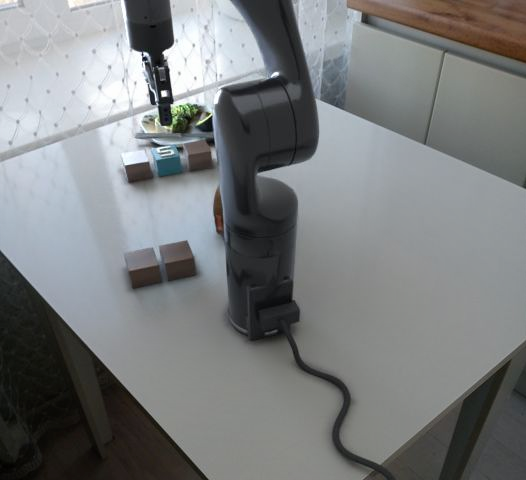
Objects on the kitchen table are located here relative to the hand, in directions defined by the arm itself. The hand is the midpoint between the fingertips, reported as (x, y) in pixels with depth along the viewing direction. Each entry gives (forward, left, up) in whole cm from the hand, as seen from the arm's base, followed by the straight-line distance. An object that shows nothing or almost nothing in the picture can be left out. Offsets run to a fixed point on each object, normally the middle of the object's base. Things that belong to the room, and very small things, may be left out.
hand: (161, 114), depth 100 cm
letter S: (0, 0, -11) cm, 11 cm away
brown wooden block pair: (-30, +8, -11) cm, 33 cm away
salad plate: (+14, -7, -11) cm, 19 cm away
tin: (-20, -7, -11) cm, 24 cm away
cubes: (0, 0, -11) cm, 11 cm away
